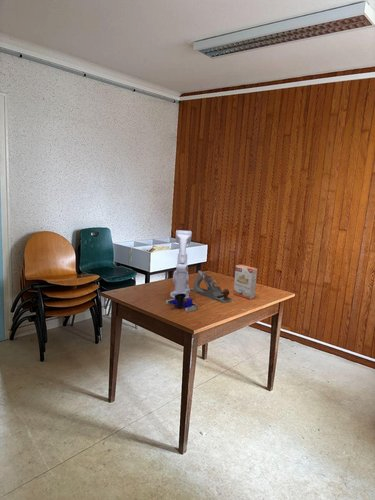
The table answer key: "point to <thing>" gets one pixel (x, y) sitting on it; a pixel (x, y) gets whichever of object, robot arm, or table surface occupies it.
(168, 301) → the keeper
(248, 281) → the cracker box
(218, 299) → the hand plane
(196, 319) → the table surface
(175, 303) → the cable clip
